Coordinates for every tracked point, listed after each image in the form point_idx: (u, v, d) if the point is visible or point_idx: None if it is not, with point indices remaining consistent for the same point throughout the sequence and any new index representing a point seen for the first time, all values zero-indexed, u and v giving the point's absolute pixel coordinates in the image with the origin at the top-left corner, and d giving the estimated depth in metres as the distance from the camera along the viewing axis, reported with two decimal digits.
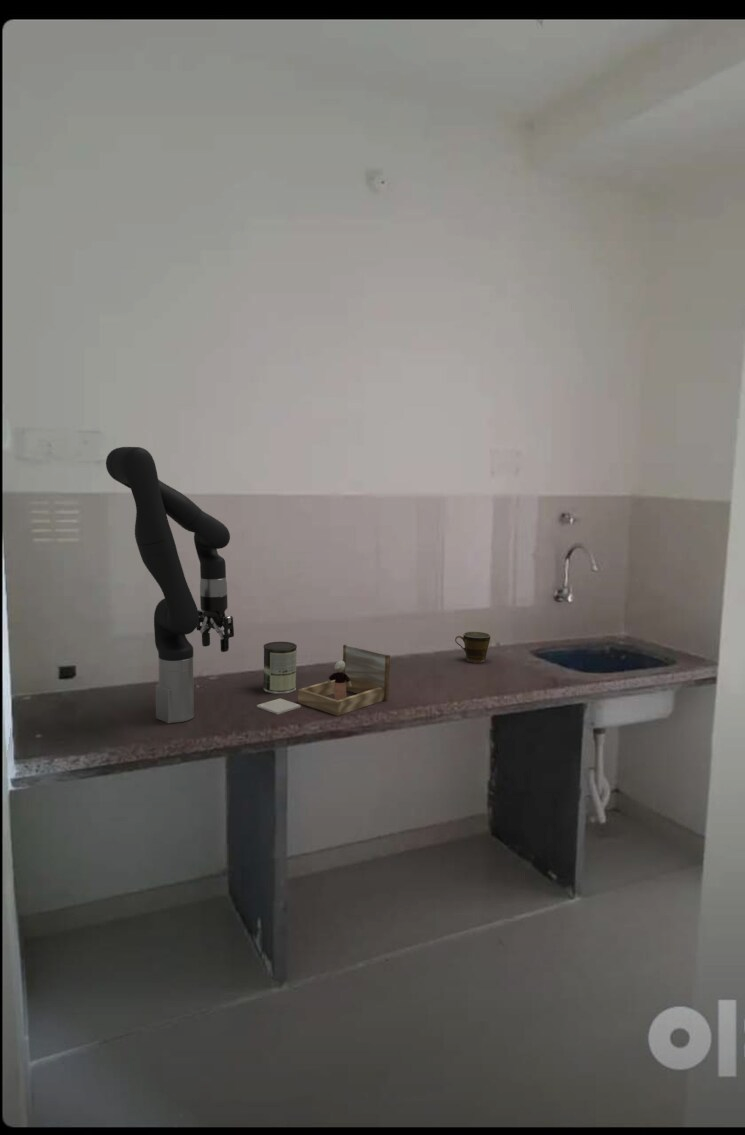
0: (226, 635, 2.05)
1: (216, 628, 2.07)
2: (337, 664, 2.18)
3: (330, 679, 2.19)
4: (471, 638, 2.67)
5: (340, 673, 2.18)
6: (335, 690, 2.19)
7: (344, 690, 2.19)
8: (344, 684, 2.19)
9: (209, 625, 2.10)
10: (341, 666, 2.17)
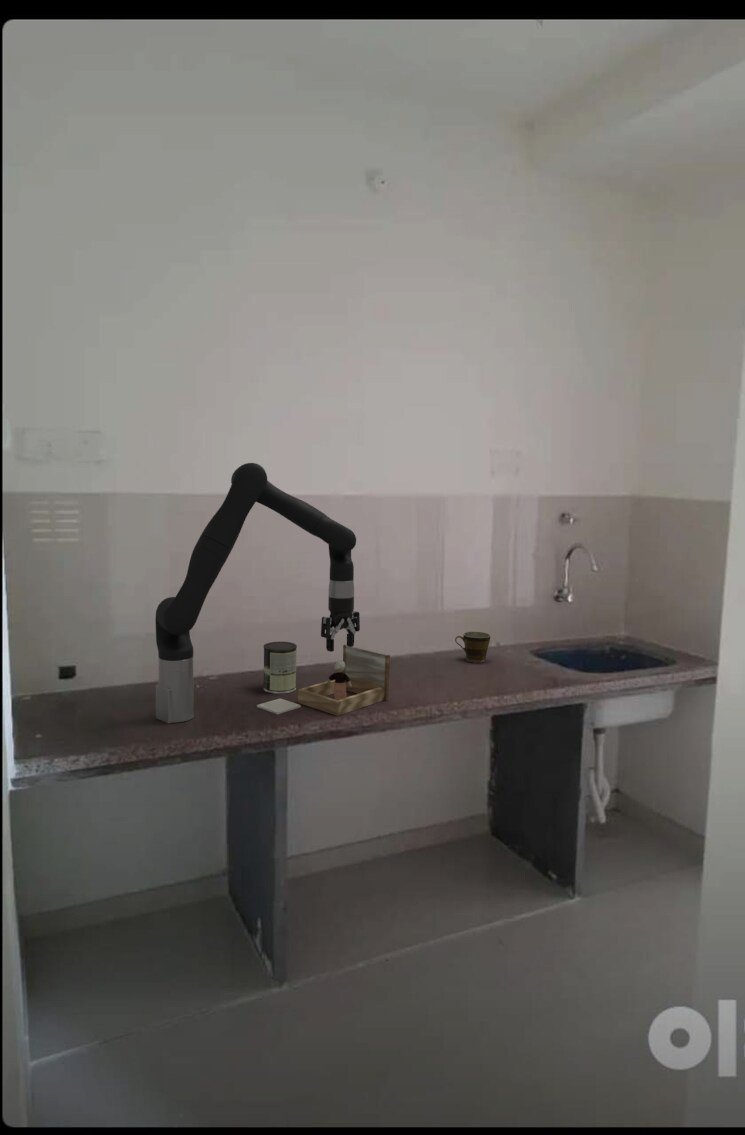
0: (359, 628, 2.22)
1: (352, 625, 2.19)
2: (337, 664, 2.18)
3: (330, 679, 2.19)
4: (471, 638, 2.67)
5: (340, 673, 2.18)
6: (335, 690, 2.19)
7: (344, 690, 2.19)
8: (344, 684, 2.19)
9: (341, 627, 2.16)
10: (341, 666, 2.17)
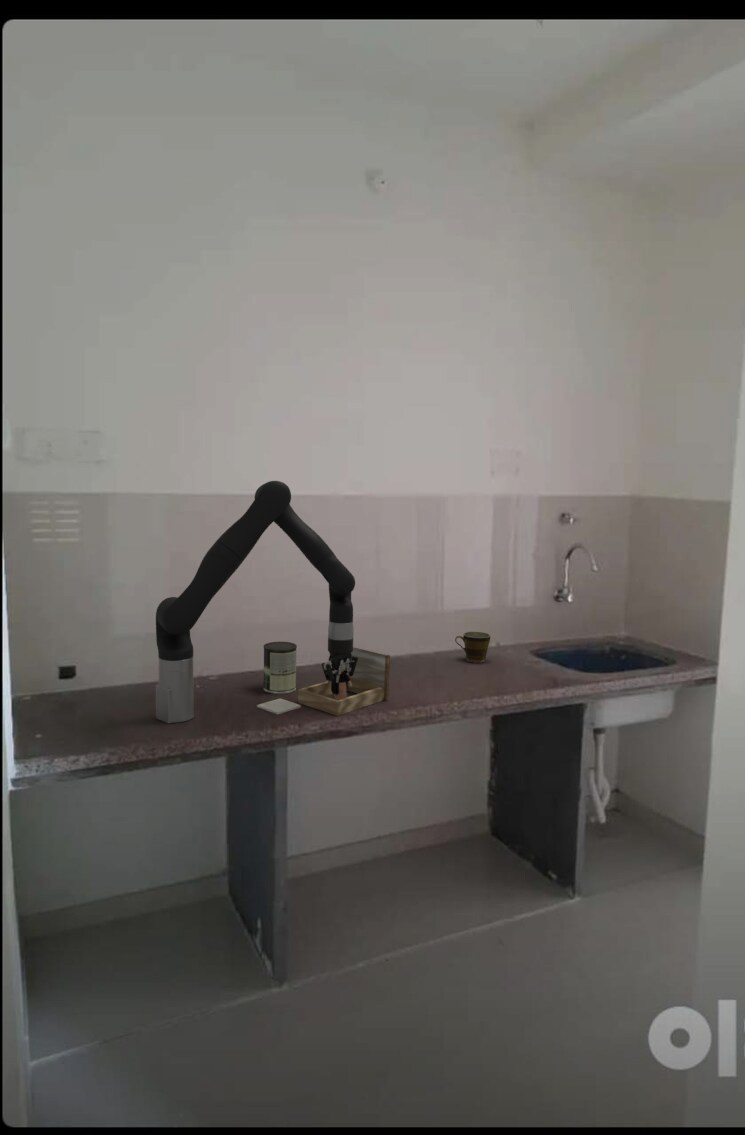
0: (352, 673, 2.22)
1: (348, 668, 2.19)
2: None
3: None
4: (471, 638, 2.67)
5: (341, 673, 2.19)
6: None
7: (344, 689, 2.19)
8: (344, 684, 2.19)
9: None
10: (342, 665, 2.18)
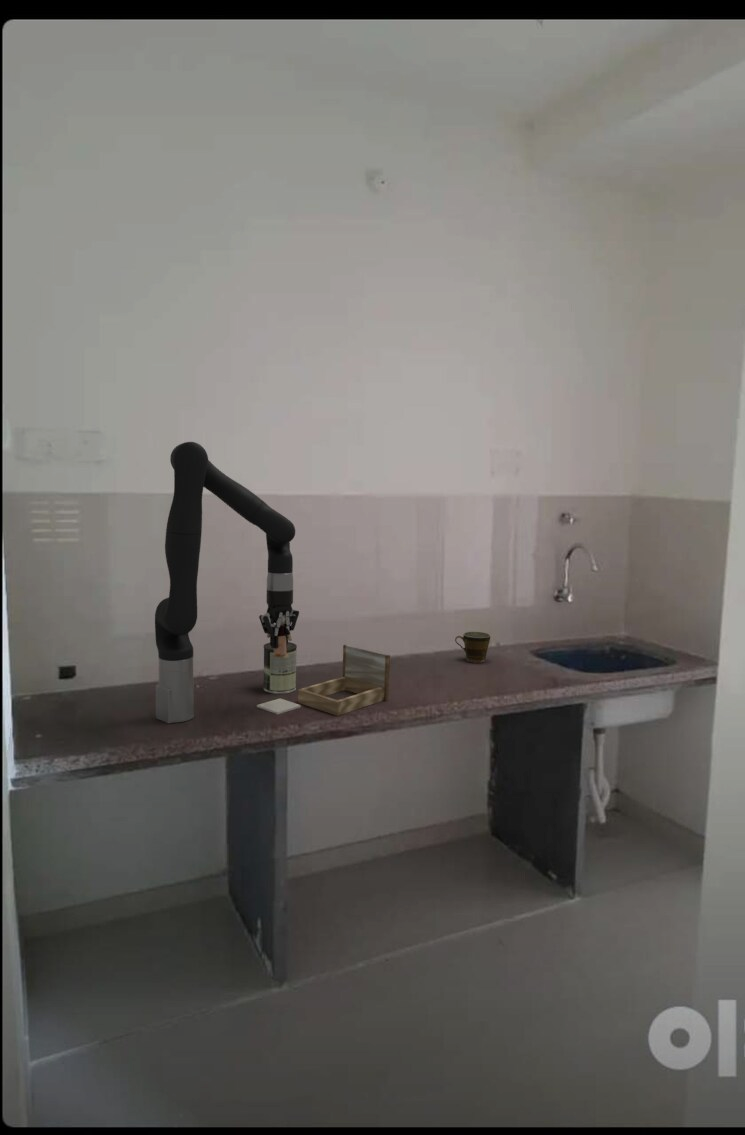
0: (293, 627, 2.14)
1: (288, 622, 2.11)
2: None
3: None
4: (471, 638, 2.67)
5: (280, 626, 2.10)
6: None
7: (283, 643, 2.10)
8: (284, 637, 2.11)
9: None
10: (281, 618, 2.09)
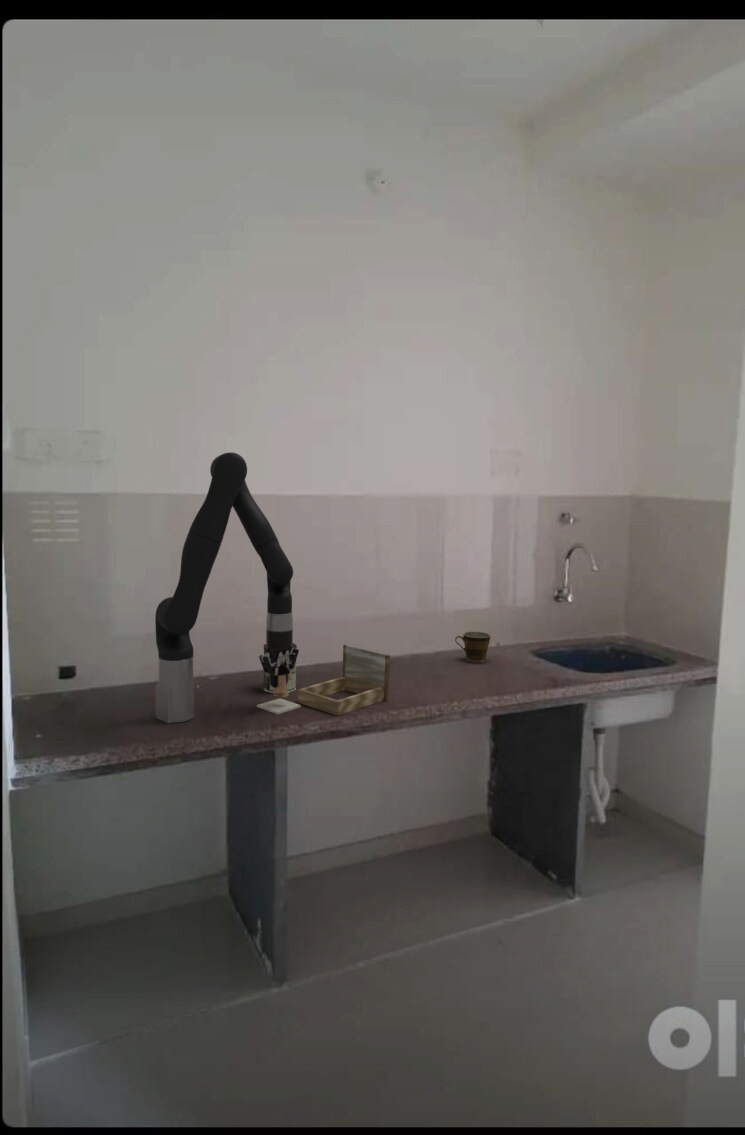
0: (293, 665, 2.15)
1: (288, 661, 2.13)
2: None
3: None
4: (471, 638, 2.67)
5: (280, 665, 2.12)
6: None
7: (283, 682, 2.12)
8: (284, 676, 2.12)
9: None
10: (281, 658, 2.11)
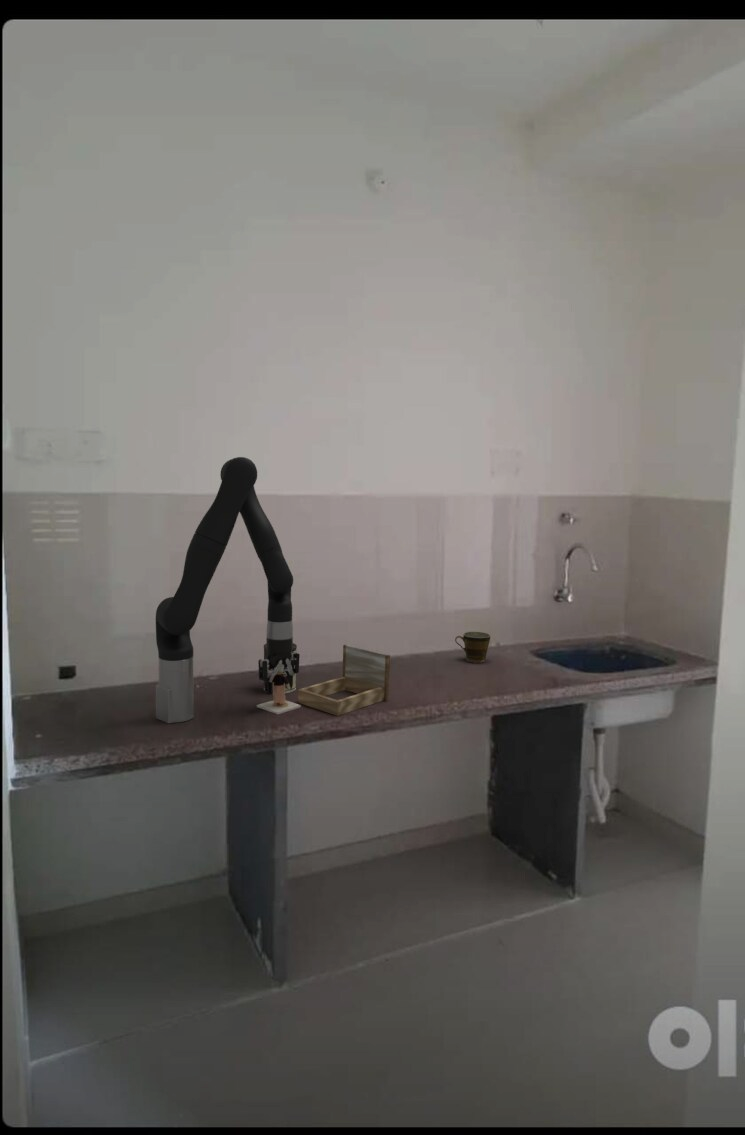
0: (298, 670, 2.17)
1: (290, 667, 2.14)
2: None
3: None
4: (471, 638, 2.67)
5: (278, 675, 2.12)
6: (274, 693, 2.13)
7: (282, 692, 2.12)
8: (283, 687, 2.12)
9: None
10: (279, 668, 2.11)
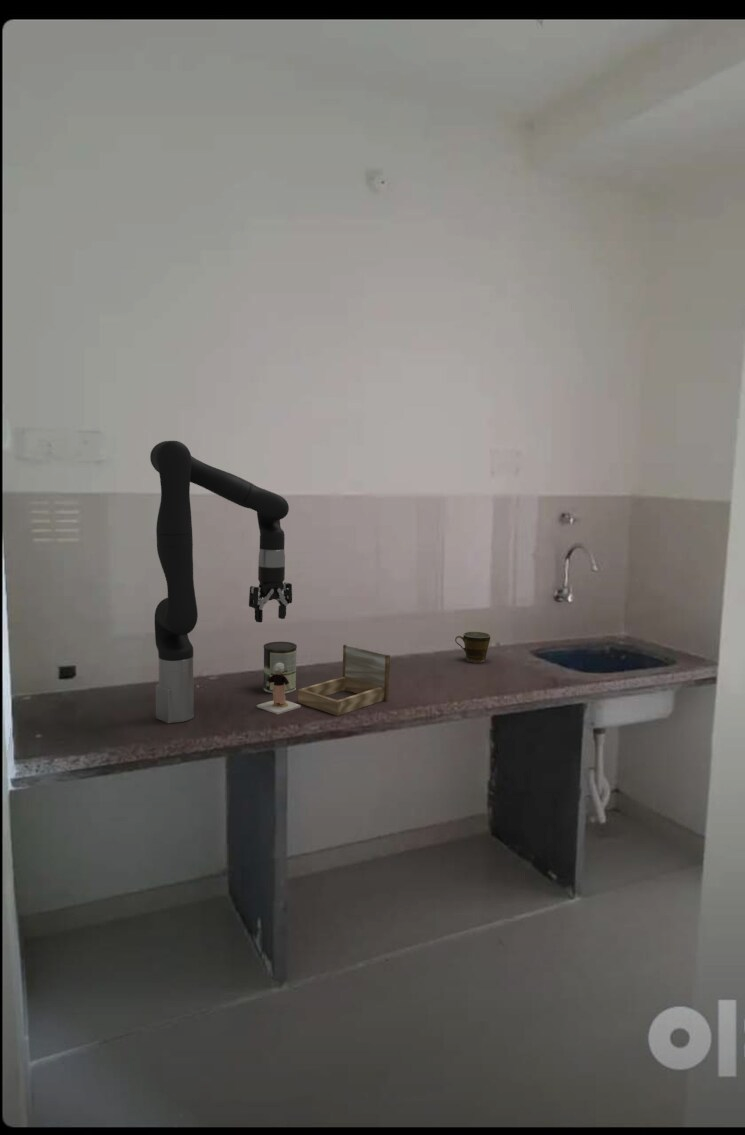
0: (291, 600, 2.16)
1: (283, 596, 2.13)
2: (275, 666, 2.12)
3: (269, 681, 2.13)
4: (471, 638, 2.67)
5: (279, 675, 2.12)
6: (274, 693, 2.13)
7: (282, 692, 2.12)
8: (283, 687, 2.12)
9: (270, 597, 2.11)
10: (279, 668, 2.11)
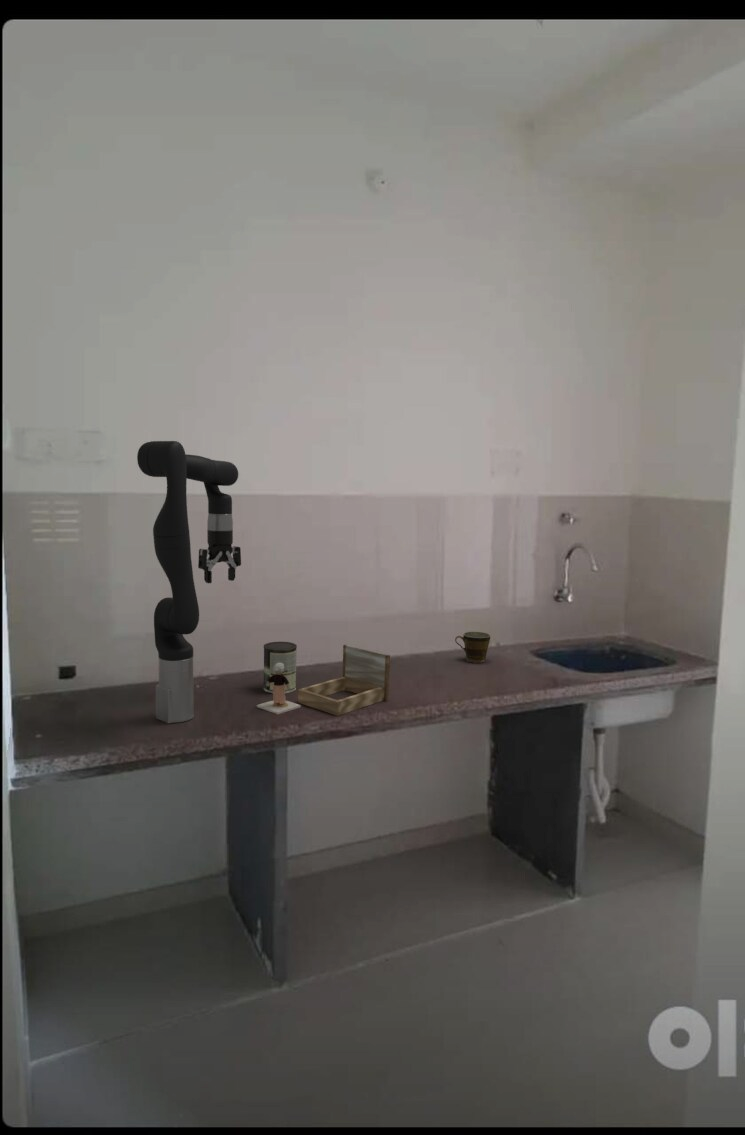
0: (240, 563, 2.28)
1: (231, 559, 2.25)
2: (275, 666, 2.12)
3: (269, 681, 2.13)
4: (471, 638, 2.67)
5: (279, 675, 2.12)
6: (274, 693, 2.13)
7: (282, 692, 2.12)
8: (283, 687, 2.12)
9: (219, 559, 2.22)
10: (279, 668, 2.11)
